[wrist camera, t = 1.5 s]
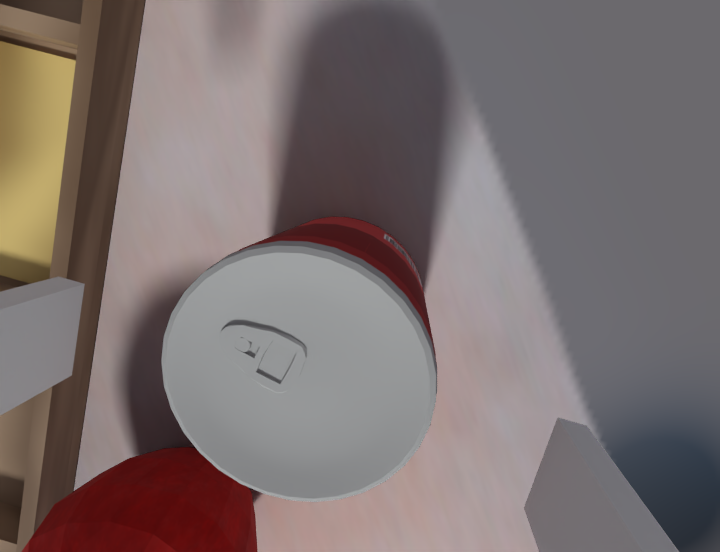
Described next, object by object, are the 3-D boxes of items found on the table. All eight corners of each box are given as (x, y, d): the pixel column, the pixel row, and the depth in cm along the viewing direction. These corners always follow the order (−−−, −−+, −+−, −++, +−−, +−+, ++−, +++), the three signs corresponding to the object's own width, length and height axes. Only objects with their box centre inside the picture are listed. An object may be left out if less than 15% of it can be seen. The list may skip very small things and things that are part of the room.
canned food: (280, 198, 24) (176, 213, 13) (441, 235, 23) (473, 282, 13) (253, 344, 25) (140, 466, 14) (403, 381, 25) (403, 534, 14)
